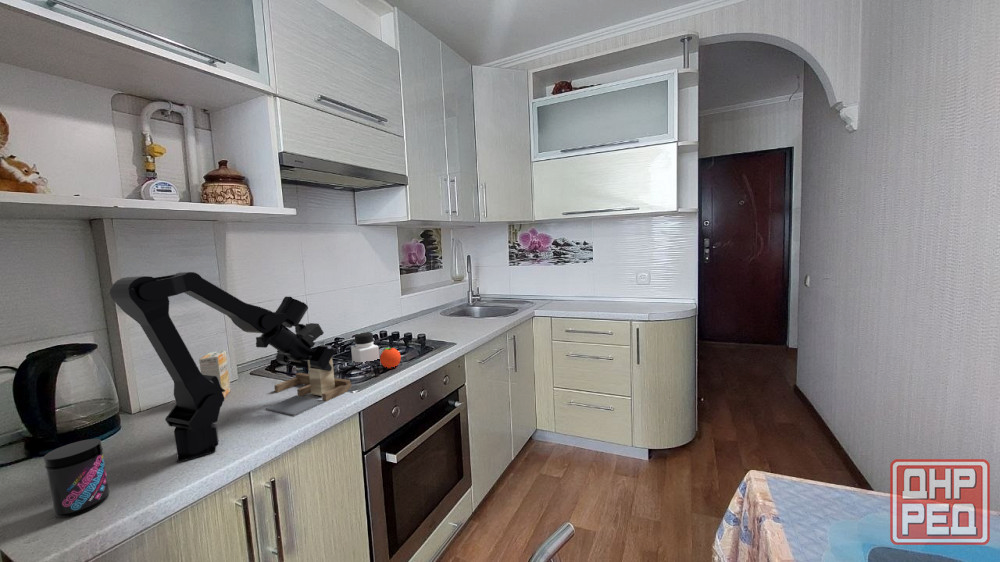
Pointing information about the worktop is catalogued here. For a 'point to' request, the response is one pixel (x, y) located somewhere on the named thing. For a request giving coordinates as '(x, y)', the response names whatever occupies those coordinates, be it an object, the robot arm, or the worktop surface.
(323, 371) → the beech block
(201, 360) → the supplement box
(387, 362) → the clementine
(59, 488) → the supplement container
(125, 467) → the worktop surface
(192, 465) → the worktop surface
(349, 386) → the lane rack
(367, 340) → the medicine bottle
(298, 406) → the rubber mat
